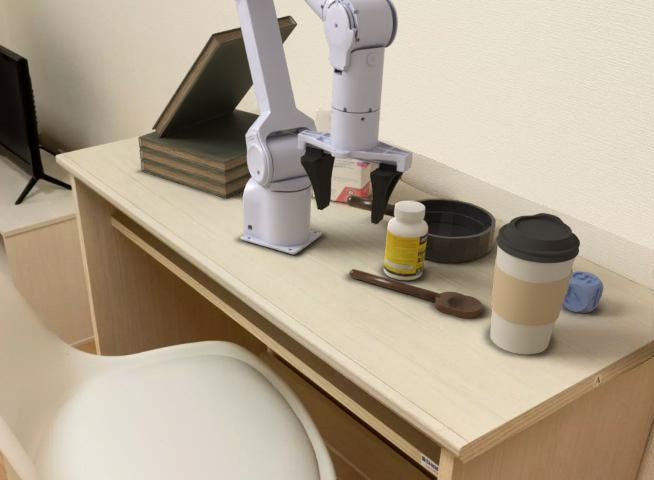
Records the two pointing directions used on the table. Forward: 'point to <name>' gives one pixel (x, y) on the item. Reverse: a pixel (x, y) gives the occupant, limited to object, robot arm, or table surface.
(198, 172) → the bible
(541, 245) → the coffee cup
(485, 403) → the table surface
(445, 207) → the frying pan
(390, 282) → the walnut spoon
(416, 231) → the supplement bottle
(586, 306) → the decorative dice
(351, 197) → the pan handle
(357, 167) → the ink cartridge box
